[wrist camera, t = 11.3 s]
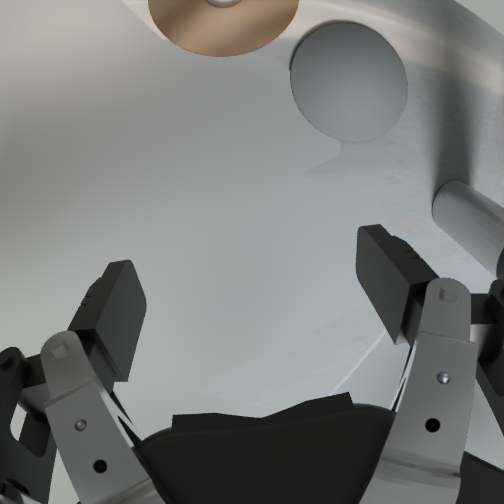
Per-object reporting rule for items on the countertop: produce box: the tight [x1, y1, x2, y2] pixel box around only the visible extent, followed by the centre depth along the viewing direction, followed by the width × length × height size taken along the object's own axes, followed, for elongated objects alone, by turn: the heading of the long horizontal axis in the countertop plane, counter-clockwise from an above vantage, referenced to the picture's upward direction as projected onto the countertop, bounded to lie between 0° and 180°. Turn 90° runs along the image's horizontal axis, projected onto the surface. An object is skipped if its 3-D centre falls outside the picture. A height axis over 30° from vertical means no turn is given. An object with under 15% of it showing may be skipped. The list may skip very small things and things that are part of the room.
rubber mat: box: [290, 23, 408, 143], centre depth 34 cm, size 17×17×1 cm
